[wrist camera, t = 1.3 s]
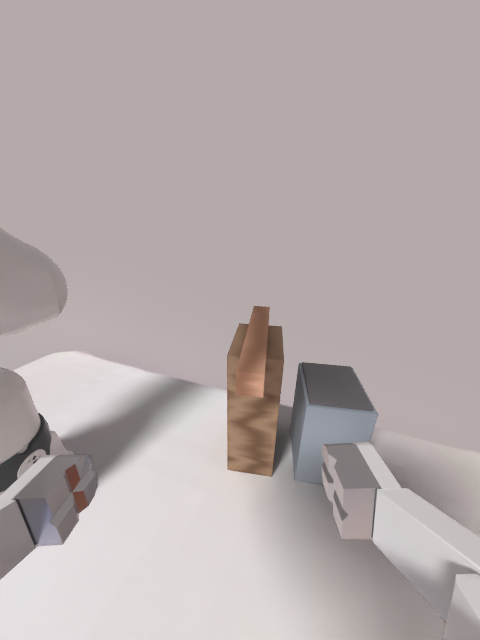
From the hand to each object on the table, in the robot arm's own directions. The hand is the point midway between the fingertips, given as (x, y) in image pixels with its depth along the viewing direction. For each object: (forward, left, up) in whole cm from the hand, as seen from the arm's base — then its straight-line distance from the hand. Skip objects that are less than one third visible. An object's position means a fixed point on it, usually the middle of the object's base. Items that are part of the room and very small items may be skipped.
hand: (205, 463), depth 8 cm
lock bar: (0, +26, -9) cm, 27 cm away
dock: (+13, +29, -33) cm, 46 cm away
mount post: (0, +29, -33) cm, 44 cm away
